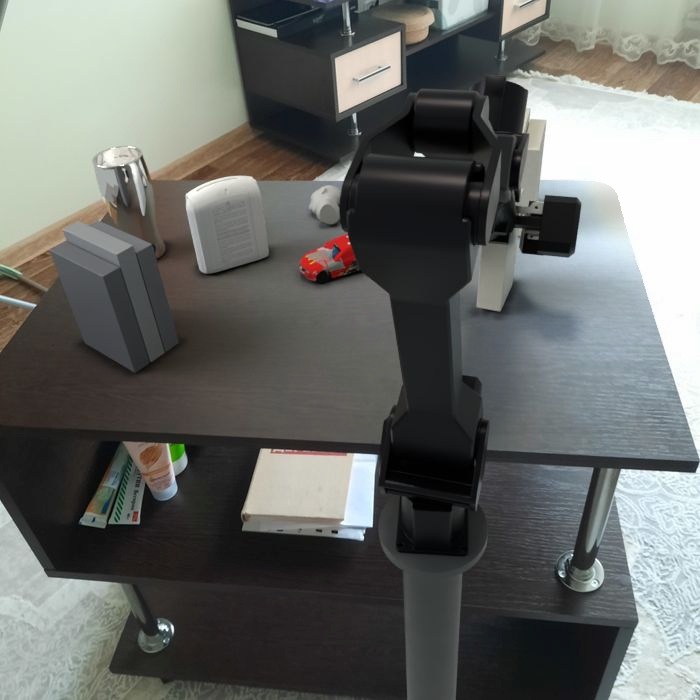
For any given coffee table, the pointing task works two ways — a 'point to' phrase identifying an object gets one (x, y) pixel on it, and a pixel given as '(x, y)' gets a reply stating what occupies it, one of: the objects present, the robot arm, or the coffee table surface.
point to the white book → (497, 271)
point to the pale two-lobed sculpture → (326, 204)
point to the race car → (329, 261)
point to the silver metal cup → (129, 193)
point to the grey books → (115, 293)
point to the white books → (532, 159)
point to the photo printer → (227, 223)
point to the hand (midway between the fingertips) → (495, 239)
